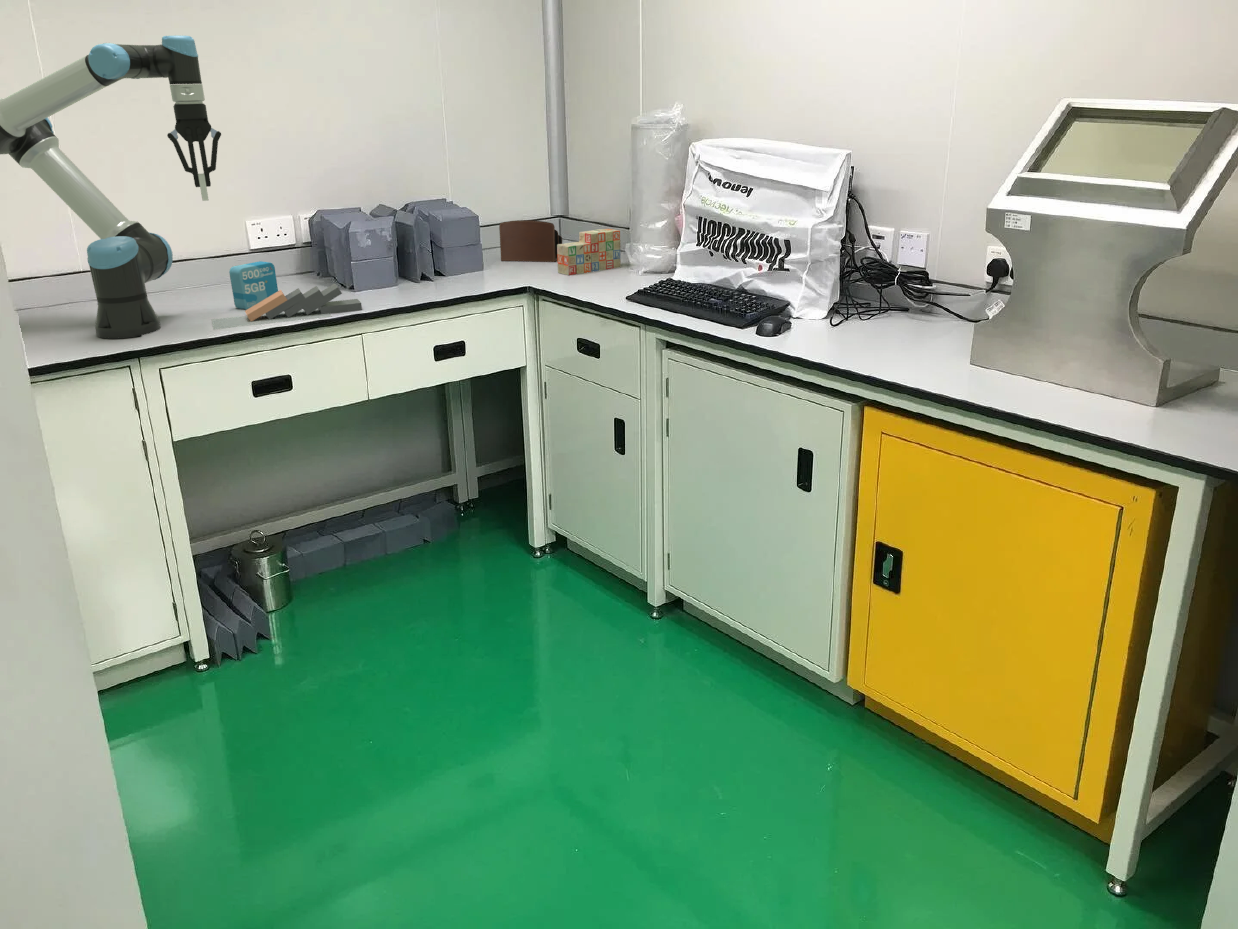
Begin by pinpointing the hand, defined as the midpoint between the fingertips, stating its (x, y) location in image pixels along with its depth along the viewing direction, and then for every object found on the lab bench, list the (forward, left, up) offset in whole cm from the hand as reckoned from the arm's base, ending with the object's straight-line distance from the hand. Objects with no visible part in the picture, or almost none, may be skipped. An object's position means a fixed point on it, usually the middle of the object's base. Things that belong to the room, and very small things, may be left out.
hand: (205, 199), depth 254 cm
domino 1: (+6, -5, -30) cm, 31 cm away
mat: (+11, -6, -31) cm, 34 cm away
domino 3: (+15, -5, -30) cm, 34 cm away
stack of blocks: (+113, +18, -32) cm, 119 cm away
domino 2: (+10, -5, -30) cm, 32 cm away
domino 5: (+24, -5, -30) cm, 39 cm away
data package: (+9, +13, -32) cm, 35 cm away
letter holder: (+103, +47, -32) cm, 118 cm away
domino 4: (+20, -5, -30) cm, 36 cm away
